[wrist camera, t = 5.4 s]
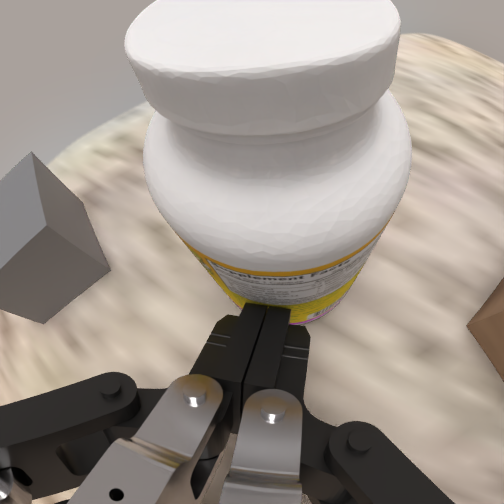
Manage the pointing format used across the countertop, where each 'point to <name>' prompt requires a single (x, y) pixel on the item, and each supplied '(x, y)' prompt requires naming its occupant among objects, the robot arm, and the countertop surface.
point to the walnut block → (491, 328)
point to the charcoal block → (44, 243)
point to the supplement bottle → (274, 139)
